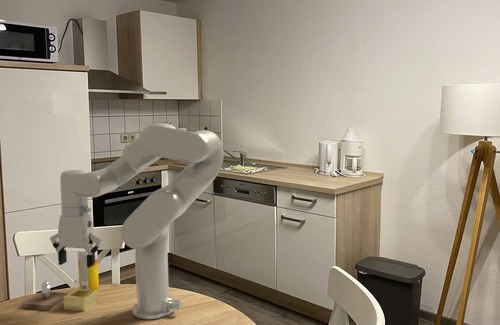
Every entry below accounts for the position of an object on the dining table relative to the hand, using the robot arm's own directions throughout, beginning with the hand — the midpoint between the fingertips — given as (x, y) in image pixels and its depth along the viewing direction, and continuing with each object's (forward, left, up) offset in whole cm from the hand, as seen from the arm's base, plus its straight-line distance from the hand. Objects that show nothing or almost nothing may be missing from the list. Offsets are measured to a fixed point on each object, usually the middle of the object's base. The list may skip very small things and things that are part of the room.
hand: (76, 264), depth 147 cm
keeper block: (+11, 0, -13) cm, 17 cm away
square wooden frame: (-1, 0, -13) cm, 13 cm away
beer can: (+2, -10, -13) cm, 17 cm away
